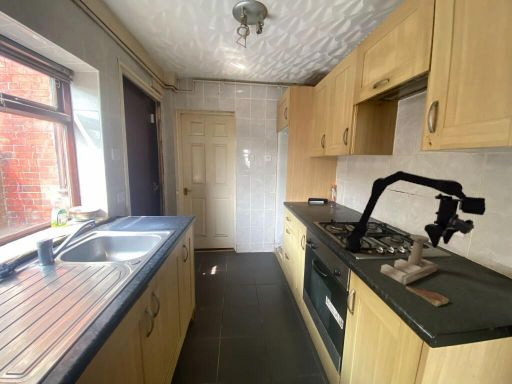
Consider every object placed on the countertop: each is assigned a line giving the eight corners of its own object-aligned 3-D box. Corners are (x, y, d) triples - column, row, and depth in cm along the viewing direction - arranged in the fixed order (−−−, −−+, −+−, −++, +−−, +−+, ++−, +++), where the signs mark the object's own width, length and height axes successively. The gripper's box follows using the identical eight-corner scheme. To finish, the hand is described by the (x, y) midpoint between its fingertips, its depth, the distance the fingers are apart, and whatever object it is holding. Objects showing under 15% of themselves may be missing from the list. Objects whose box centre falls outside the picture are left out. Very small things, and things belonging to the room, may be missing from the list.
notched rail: (380, 272, 93) (381, 265, 92) (411, 260, 103) (412, 254, 103) (405, 284, 84) (406, 277, 83) (436, 270, 95) (437, 264, 94)
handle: (423, 272, 93) (429, 240, 90) (405, 268, 96) (410, 236, 93) (422, 268, 97) (428, 236, 94) (405, 263, 100) (410, 233, 97)
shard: (404, 289, 82) (405, 284, 82) (418, 285, 85) (418, 281, 84) (435, 308, 72) (436, 303, 72) (450, 303, 75) (451, 299, 74)
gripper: (462, 218, 78) (453, 258, 81) (483, 213, 86) (474, 249, 89) (426, 211, 88) (420, 246, 91) (448, 206, 96) (442, 239, 99)
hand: (440, 245), depth 92 cm, fingers open, 9 cm apart
